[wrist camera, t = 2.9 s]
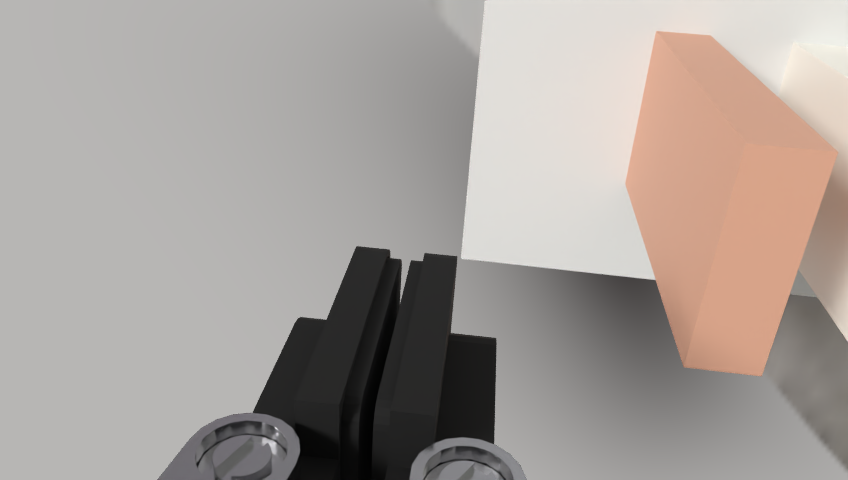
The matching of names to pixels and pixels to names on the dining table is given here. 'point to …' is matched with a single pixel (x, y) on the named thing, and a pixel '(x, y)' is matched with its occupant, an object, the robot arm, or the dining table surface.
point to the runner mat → (595, 117)
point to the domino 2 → (844, 196)
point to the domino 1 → (722, 200)
